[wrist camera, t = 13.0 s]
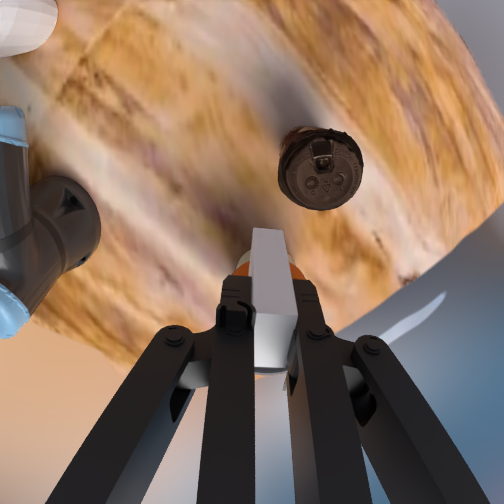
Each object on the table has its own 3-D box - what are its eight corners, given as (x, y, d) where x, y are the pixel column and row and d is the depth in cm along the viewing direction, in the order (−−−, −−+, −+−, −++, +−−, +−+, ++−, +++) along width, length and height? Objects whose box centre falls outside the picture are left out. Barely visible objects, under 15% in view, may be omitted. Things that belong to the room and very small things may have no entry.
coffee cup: (294, 103, 37) (312, 111, 25) (348, 136, 39) (386, 159, 27) (260, 161, 40) (263, 193, 29) (315, 190, 42) (337, 232, 31)
